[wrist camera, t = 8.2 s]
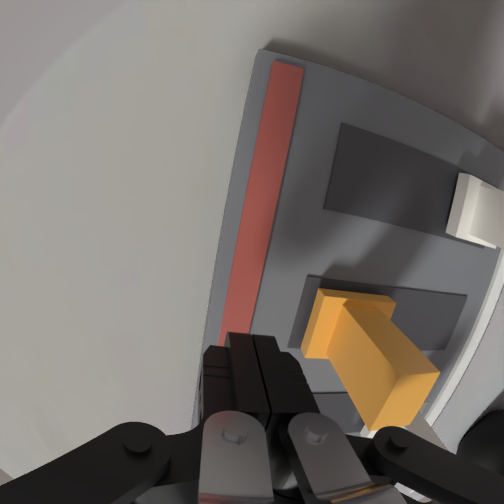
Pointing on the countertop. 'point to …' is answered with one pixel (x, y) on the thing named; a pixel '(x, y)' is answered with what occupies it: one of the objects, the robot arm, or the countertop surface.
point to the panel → (351, 223)
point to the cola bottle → (485, 443)
